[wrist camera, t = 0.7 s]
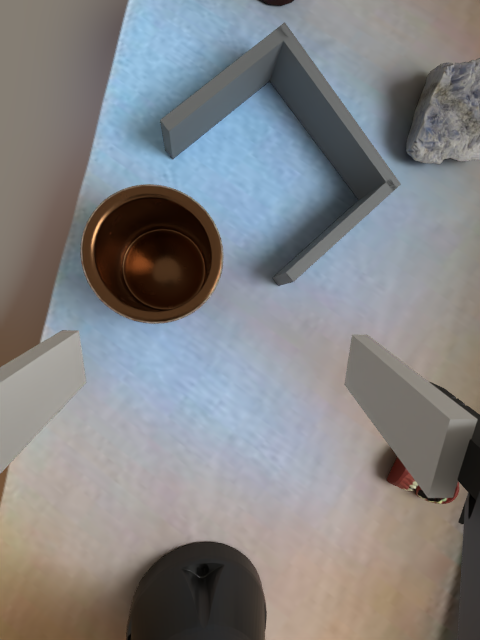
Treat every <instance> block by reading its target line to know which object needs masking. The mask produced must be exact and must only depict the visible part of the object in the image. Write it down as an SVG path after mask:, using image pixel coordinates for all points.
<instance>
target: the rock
mask: <svg viewBox="0 0 480 640" xmlns="http://www.w3.org/2000/svg"><path fill="white" fill-rule="evenodd" d="M406 147H407V148H406V151H407V153H408V154H409V155H410V156H411V157H412V158H413V159H414V160H415V161H420V162H421V163H422V162H424V163H435V164H440V163H442V161H443V159H448V158H452V159H454V160H458V161H467V160H469V161H470V160H480V58H478V59H476V60H475V61H474V60H472V61H470V62H464V63H455V64H453V63H443V64H440V65H439V66H437V67H436V68H435V69H433V70H432V71H430V73H429V74H428V76H427V79H426V84H425V87H424V89H423V91H422V94H421V97H420V100H419V102H418V105H417V107H416V110H415V113H414V117H413V122H412V126H411V129H410V132H409V135H408V138H407V144H406Z"/></svg>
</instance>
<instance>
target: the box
mask: <svg viewBox="0 0 480 640" xmlns="http://www.w3.org/2000/svg"><path fill="white" fill-rule="evenodd" d="M269 81H270V82H271V83H272V85H273V86H274V87H275V89H276V90H277V91H278V93H279V94H280V95H281V97H282V98H283V99H284V101H285V102H286V103H287V105H288V106H289V107H290V109H291V110H292V111H293V113H294V114H295V115H296V117H297V118H298V119H299V121H300V122H301V123H302V125H303V126H304V127H305V129H306V130H307V131H308V133H309V134H310V135H311V137H312V138H313V139H314V141H315V142H316V143H317V145H318V146H319V147H320V149H321V150H322V151H323V153H324V154H325V155H326V157H327V158H328V159H329V161H330V162H331V164H332V165H333V166H334V168H335V169H336V170H337V172H338V173H339V174H340V176H341V177H342V178H343V180H344V181H345V182H346V184H347V185H348V186H349V188H350V189H351V190H352V192H353V193H354V194H355V196H356V197H357V198H358V201H357V202H356V203H355V204H354V205H353V206H352V207H351V208H349V209H348V210H347V211H346V212H345V213H344V214H343V215H342V216H341V217H339V218H338V219H337V220H336V221H335V222H334V223H333V224H332V225H331V226H329V227H328V228H327V229H326V230H325V231H324V232H323V233H322V234H321V235H319V236H318V237H317V238H316V239H315V240H314V241H313V242H312V243H311V244H309V245H308V246H307V247H306V248H305V249H304V250H303V251H302V252H300V253H299V254H298V255H297V256H296V257H295V258H294V259H293V260H292V261H290V262H289V263H288V264H287V265H286V266H285V267H284V268H283V269H282V270H280V271H279V272H278V273H277V274H276V275H275V276H274V277H273V279H274V281H275V282H276V283H277V284H278V285H279V286H280V285H283V284H287V283H291V282H294V281H295V280H296V279H297V278H298V277H299V276H300V275H302V274H303V273H304V272H305V271H306V270H307V269H308V268H309V267H310V266H311V265H313V264H314V263H315V262H316V261H317V260H318V259H319V258H320V257H321V256H322V255H324V254H325V253H326V252H327V251H328V250H329V249H330V248H331V247H332V246H333V245H335V244H336V243H337V242H338V241H339V240H340V239H341V238H342V237H343V236H344V235H346V234H347V233H348V232H349V231H350V230H351V229H352V228H353V227H354V226H355V225H357V224H358V223H359V222H360V221H361V220H362V219H363V218H364V217H365V216H366V215H368V214H369V213H370V212H371V211H372V210H373V209H374V208H375V207H376V206H377V205H379V204H380V203H381V202H382V201H383V200H384V199H385V198H386V197H387V196H388V195H390V194H391V193H392V192H393V191H394V190H395V189H396V188H397V187H398V186H399V185H401V184H400V182H399V181H398V180H397V178H396V177H395V175H394V174H393V173H392V171H391V170H390V168H389V167H388V166H387V164H386V163H385V161H384V160H383V159H382V157H381V156H380V154H379V153H378V152H377V150H376V149H375V148H374V146H373V145H372V143H371V142H370V141H369V139H368V138H367V136H366V135H365V134H364V132H363V131H362V129H361V128H360V127H359V125H358V124H357V122H356V121H355V120H354V118H353V117H352V115H351V114H350V113H349V111H348V110H347V109H346V107H345V106H344V104H343V103H342V102H341V100H340V99H339V97H338V96H337V95H336V93H335V92H334V90H333V89H332V88H331V86H330V85H329V83H328V82H327V81H326V79H325V78H324V76H323V75H322V74H321V72H320V71H319V70H318V68H317V67H316V65H315V64H314V63H313V61H312V60H311V58H310V57H309V56H308V54H307V53H306V51H305V50H304V49H303V47H302V46H301V44H300V43H299V42H298V40H297V39H296V37H295V36H294V35H293V33H292V32H291V30H290V29H289V28H288V26H287V25H286V24H285V23H283V24H282V25H281V26H279V27H278V28H277V29H276V30H274V31H273V32H272V33H271V34H269V35H268V36H267V37H265V38H264V39H263V40H262V41H260V42H259V43H258V44H257V45H255V46H254V47H253V48H251V49H250V50H249V51H248V52H246V53H245V54H244V55H243V56H241V57H240V58H239V59H237V60H236V61H235V62H234V63H232V64H231V65H230V66H228V67H227V68H226V69H225V70H223V71H222V72H221V73H220V74H218V75H217V76H216V77H214V78H213V79H212V80H211V81H209V82H208V83H207V84H206V85H204V86H203V87H202V88H200V89H199V90H198V91H197V92H195V93H194V94H193V95H192V96H190V97H189V98H188V99H186V100H185V101H184V102H183V103H181V104H180V105H179V106H178V107H176V108H175V109H174V110H172V111H171V112H170V113H169V114H167V115H166V116H165V117H164V118H162V119H161V120H160V123H161V129H162V135H163V140H164V146H165V151H166V152H167V153H168V154H169V155H170V157H171V158H172V159H174V158H175V157H176V156H178V155H179V154H180V153H181V152H183V151H184V150H185V149H186V148H187V147H189V146H190V145H191V144H192V143H194V142H195V141H196V140H197V139H199V138H200V137H201V136H202V135H204V134H205V133H206V132H207V131H209V130H210V129H211V128H212V127H214V126H215V125H216V124H217V123H218V122H220V121H221V120H222V119H223V118H225V117H226V116H227V115H228V114H230V113H231V112H232V111H233V110H235V109H236V108H237V107H238V106H240V105H241V104H242V103H243V102H245V101H246V100H247V99H248V98H249V97H251V96H252V95H253V94H254V93H256V92H257V91H258V90H259V89H261V88H262V87H263V86H264V85H266V84H267V83H268V82H269Z"/></svg>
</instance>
